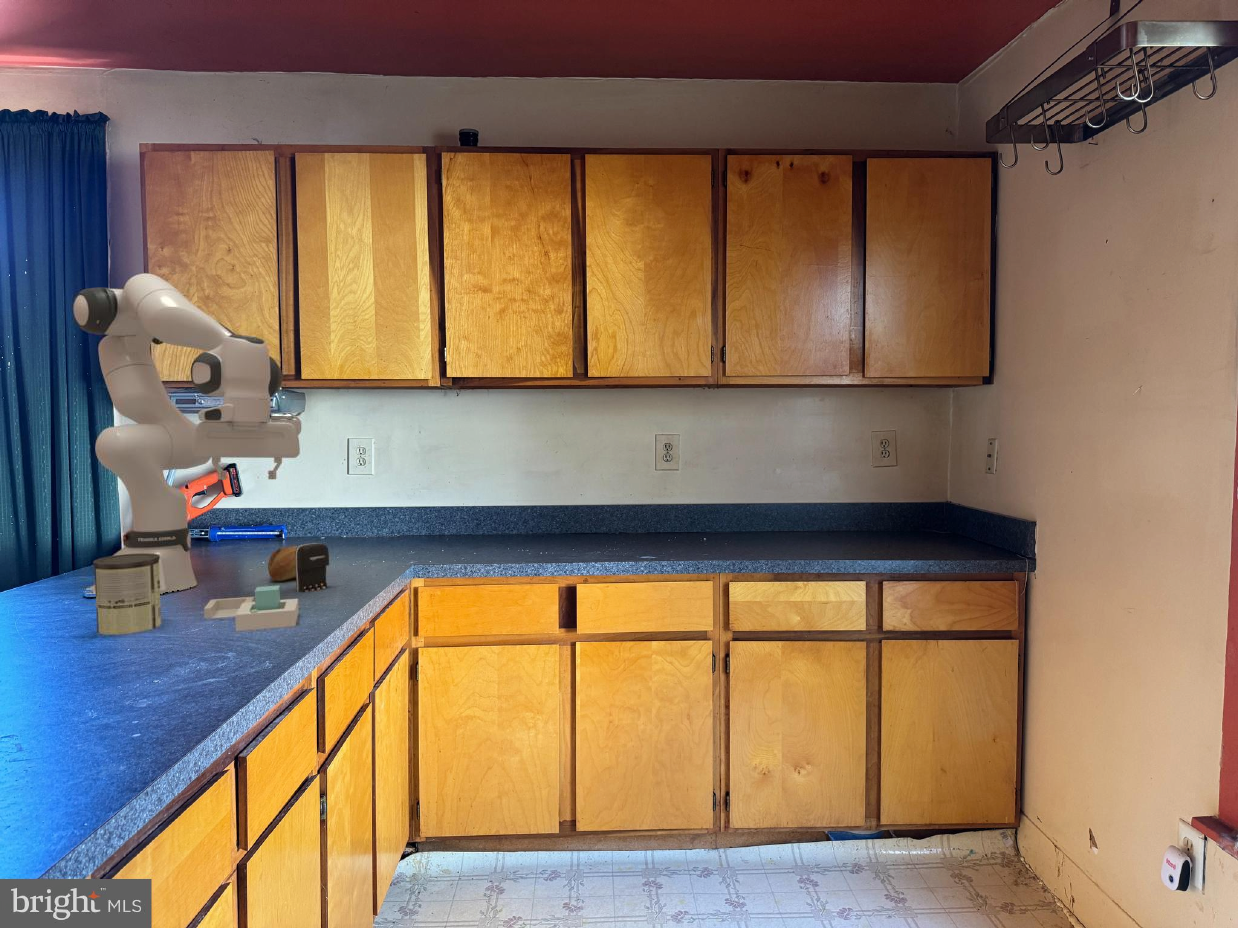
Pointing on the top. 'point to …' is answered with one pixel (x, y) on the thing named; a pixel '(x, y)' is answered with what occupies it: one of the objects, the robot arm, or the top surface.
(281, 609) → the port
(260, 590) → the plug
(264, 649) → the top surface
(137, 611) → the coffee can
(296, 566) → the battery
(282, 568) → the bread roll
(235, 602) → the holster
